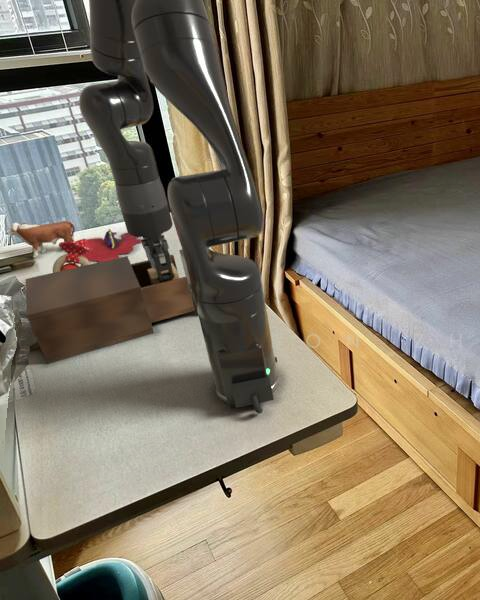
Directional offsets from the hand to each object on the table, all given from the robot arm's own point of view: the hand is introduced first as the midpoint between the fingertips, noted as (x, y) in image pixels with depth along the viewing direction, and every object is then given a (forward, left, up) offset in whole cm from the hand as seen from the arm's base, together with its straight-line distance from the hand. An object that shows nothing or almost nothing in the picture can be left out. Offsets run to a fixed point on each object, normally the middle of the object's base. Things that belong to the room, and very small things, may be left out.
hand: (167, 289), depth 103 cm
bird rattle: (+15, +18, -4) cm, 23 cm away
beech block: (0, 0, -1) cm, 1 cm away
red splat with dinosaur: (+35, +15, -4) cm, 38 cm away
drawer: (0, -1, -3) cm, 3 cm away
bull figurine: (+37, +29, -4) cm, 47 cm away
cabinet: (-3, +13, -4) cm, 14 cm away
